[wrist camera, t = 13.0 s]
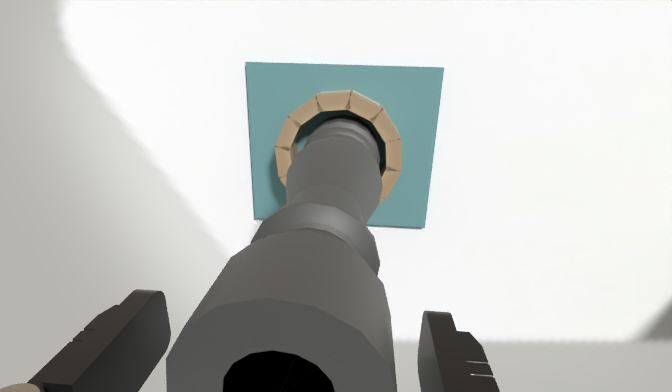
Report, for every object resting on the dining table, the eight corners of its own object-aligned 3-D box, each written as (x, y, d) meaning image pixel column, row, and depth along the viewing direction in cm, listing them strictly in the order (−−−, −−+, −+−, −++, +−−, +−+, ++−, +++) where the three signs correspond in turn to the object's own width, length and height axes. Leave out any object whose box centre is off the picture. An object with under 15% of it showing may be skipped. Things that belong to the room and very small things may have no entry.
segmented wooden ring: (420, 123, 31) (425, 130, 28) (365, 220, 34) (365, 235, 32) (311, 69, 30) (306, 70, 27) (267, 174, 34) (258, 184, 31)
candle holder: (293, 151, 33) (108, 390, 9) (341, 98, 31) (257, 233, 7) (344, 197, 34) (294, 511, 10) (393, 148, 32) (465, 402, 9)
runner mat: (442, 67, 30) (444, 67, 29) (423, 225, 35) (424, 227, 34) (247, 62, 31) (245, 62, 30) (255, 216, 36) (254, 218, 35)
